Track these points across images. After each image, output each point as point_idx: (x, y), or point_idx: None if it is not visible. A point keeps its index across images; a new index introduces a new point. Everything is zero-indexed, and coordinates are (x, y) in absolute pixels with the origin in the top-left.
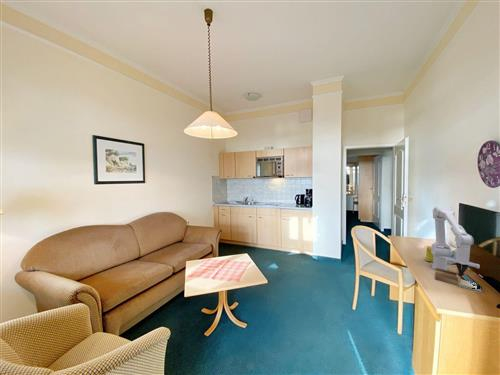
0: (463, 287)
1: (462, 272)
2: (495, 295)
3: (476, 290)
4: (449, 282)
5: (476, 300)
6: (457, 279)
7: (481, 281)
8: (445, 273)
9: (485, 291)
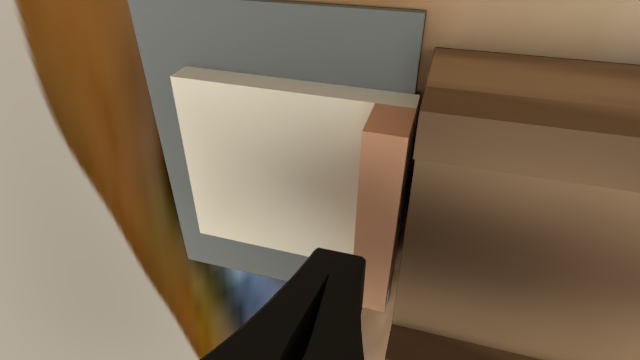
0: (346, 6)
1: (285, 313)
2: (21, 23)
3: (183, 8)
4: (565, 65)
5: None
6: (426, 98)
7: (184, 331)
8: (570, 332)
9: (114, 83)
